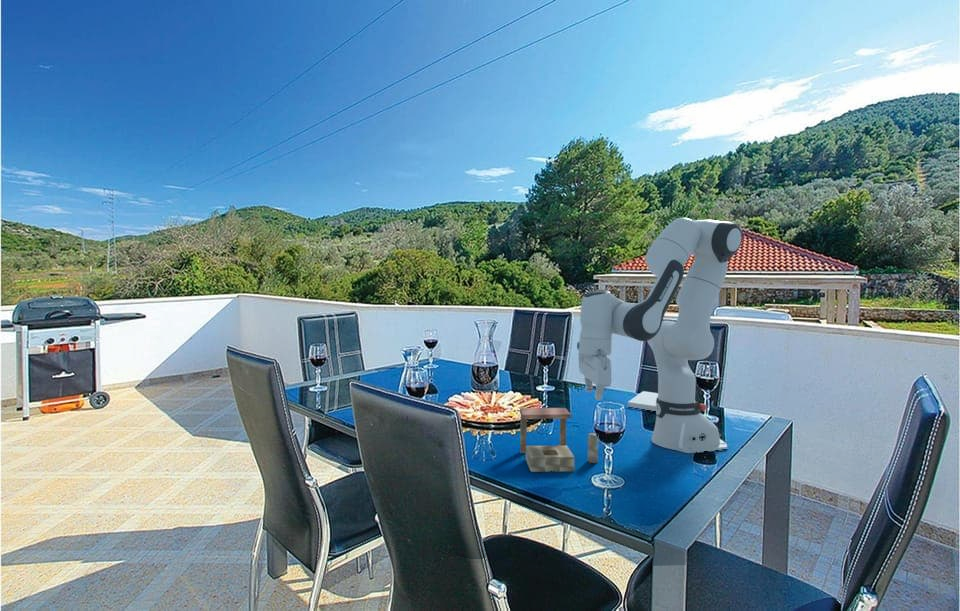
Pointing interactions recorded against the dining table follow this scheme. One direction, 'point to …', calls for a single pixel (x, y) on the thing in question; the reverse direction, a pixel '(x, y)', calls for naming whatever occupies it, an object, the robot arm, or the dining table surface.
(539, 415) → the brown wooden arch
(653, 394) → the food packaging
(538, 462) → the socket block
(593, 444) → the peg
